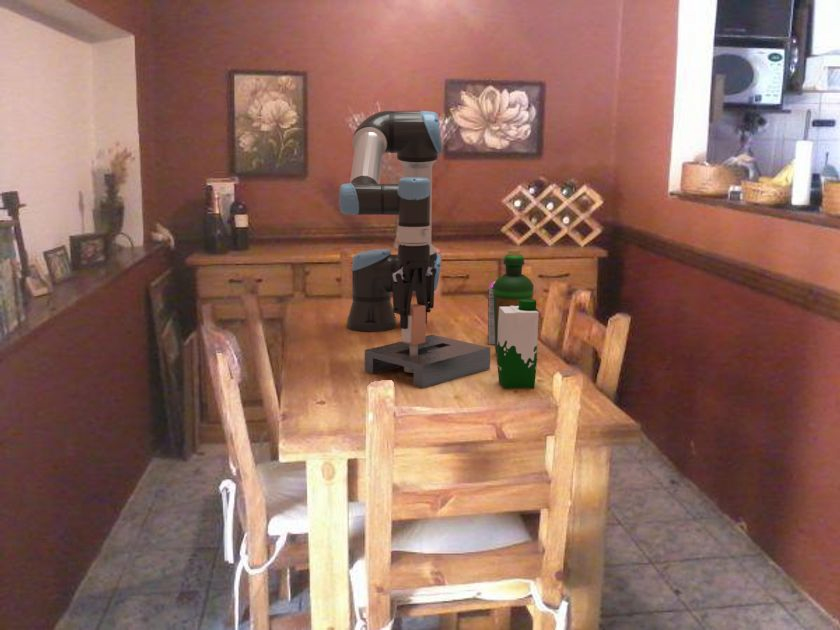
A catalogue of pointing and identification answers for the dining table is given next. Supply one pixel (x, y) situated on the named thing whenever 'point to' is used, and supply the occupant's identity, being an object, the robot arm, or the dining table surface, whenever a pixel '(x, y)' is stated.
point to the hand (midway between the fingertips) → (413, 339)
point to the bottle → (511, 286)
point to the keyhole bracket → (430, 359)
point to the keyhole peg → (416, 330)
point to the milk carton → (517, 344)
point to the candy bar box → (491, 316)
